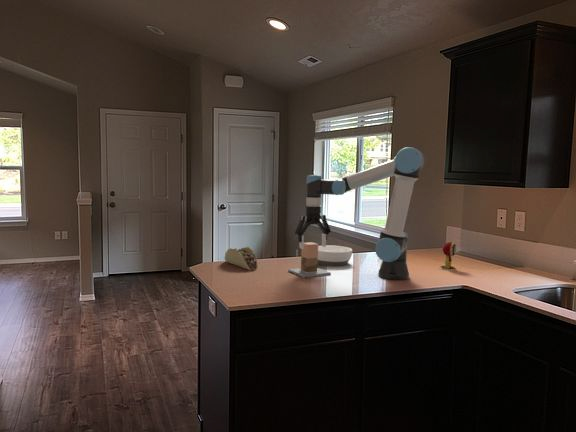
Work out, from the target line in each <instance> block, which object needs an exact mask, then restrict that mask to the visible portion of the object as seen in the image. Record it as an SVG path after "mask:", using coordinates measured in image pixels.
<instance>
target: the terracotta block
mask: <svg viewBox="0 0 576 432" xmlns="http://www.w3.org/2000/svg"><path fill="white" fill-rule="evenodd" d="M318 246H319V243H316V242H313V241H312V242H311V241H310V242H309V241H308V242H304V249H301V256H302V257H305V258H307V259H309V258H318Z"/></svg>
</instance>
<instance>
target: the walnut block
mask: <svg viewBox="0 0 576 432" xmlns="http://www.w3.org/2000/svg"><path fill="white" fill-rule="evenodd" d="M300 260H301V261H300V268H301V270H302V271H305V272H316V271H317V268H318V258H309V259H307V258H305V257H302V256H301V258H300Z"/></svg>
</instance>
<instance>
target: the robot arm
mask: <svg viewBox="0 0 576 432" xmlns="http://www.w3.org/2000/svg"><path fill="white" fill-rule="evenodd" d="M425 164H426V156H425V154H424V152H422V150H421V149H419V148H415V147H412V146H411V147H410V146H407V147H403V148H401V149H400V150H399V151H398V152H397V153H396V155H395V157H394V158H393V159H391V160H389V161H386V162H384V163H380V164H378V165H374V166H372V167H370V168H367V169H364V170H361V171H358V172H356V173H353V174H349V175H347V176H346V175H345V176H343V177H341V178H337V179H336V178H335V179H331V178H330V179H329V178H327V179H325V178H323V176H322V175H320V174H319V175H318V174H309V175H308V174H307V176H306V183H305V185H306V189H305V190H306V191H305V193H306V194H305V198H306V199H305V201H306V203H305V205H306V207H305V215H300V220H299V222H298V225H297V227H296V230H295V232H294V234H295V235H296V236H297V237H298V238H297V239H298V240H297V241H298V243H299V244H298V246H299V249H301V250H302V249H304V243H305V242H304V241H305V238H304V237H305V236H304V233H305V232H306V230H307V229H308V228H309V227H310V226H311V225H317V226H318V228H319V229H320V230H321V231H322V233H321V246H323V247H326V245H327V241H328V235H329V234H330V233H331V232H332V230H331V228H330V226H329V223H328V221H327V215H326V214H321V213H322V206H321V205H322V195H329V196H330V195H335V196H340V195H341V196H342V195H344V194H346V193H348V192H350V191H353V190H356V189H359V188H362V187H364V186H368V185H371V184H373V183H376V182H379V181H382V180H385V179H389V178H391V177H395V180H394V181H395V182H394V185H393V189H392V194H391V199H390V204H389V208H388V211H387V216H386V222H385V226H384V227H383V228H382V229H381V230H380V233H379V238H378V241H377V242H376V244H375V249H374V250H375V253H376V256H377V257H378V258H379V259H380V260H381V264H380V268H379V269H378V273H377V275H378V277H380V278H382V279H385V280H392V281H394V280H395V281H401V280H402V281H404V280H408V279H409V278H410V272H409V268H408V265H407V253H408V240H409V238H408V235H409V234H408V233H407V232H406V231H405V232H404V229H405V226H406V225H405V224H406V221H407V216H408V212H409V207H410V203H411V199H412V194H413V190H414V186H415V185H414V184H415V183H416V181H417V180H419V178H420V173H421V170H422V169H423V168H424V167H425Z"/></svg>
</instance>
